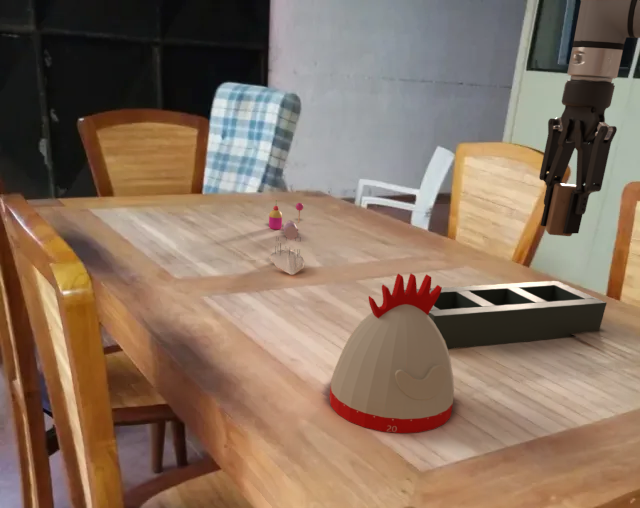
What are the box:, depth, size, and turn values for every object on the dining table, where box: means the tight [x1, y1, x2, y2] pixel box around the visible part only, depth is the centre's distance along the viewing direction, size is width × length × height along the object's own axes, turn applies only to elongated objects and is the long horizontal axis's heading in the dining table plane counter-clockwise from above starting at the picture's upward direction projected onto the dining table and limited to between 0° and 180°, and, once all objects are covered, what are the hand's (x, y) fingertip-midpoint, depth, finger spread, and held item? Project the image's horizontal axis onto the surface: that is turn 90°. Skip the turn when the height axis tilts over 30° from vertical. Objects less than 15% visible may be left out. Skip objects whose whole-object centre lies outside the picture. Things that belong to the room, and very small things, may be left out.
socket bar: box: [404, 280, 608, 350], centre depth 105 cm, size 11×30×5 cm, turn 113°
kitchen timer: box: [328, 273, 455, 434], centre depth 77 cm, size 14×14×15 cm
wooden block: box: [545, 183, 576, 237], centre depth 121 cm, size 4×4×8 cm
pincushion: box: [268, 237, 305, 276], centre depth 126 cm, size 12×6×6 cm, turn 11°
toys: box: [268, 199, 304, 241], centre depth 154 cm, size 18×8×6 cm, turn 6°
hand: (559, 228), depth 122 cm, fingers closed on wooden block, 5 cm apart
